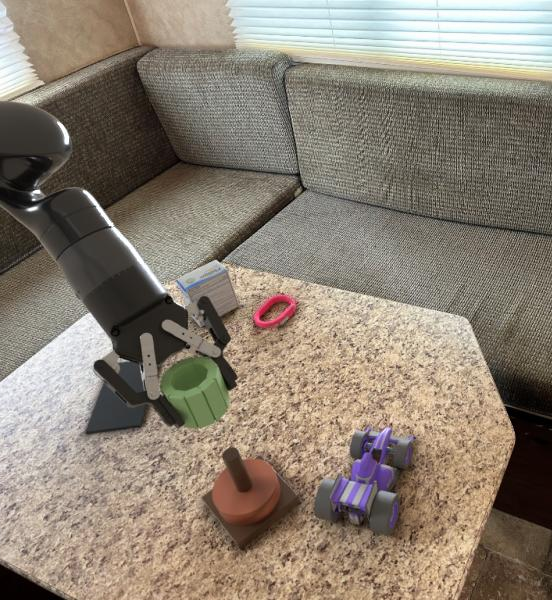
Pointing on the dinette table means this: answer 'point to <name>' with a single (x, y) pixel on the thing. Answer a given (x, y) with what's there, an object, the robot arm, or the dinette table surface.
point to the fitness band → (281, 318)
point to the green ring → (196, 391)
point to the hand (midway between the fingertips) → (207, 406)
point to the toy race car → (367, 482)
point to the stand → (248, 497)
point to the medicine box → (209, 288)
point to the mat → (118, 404)
